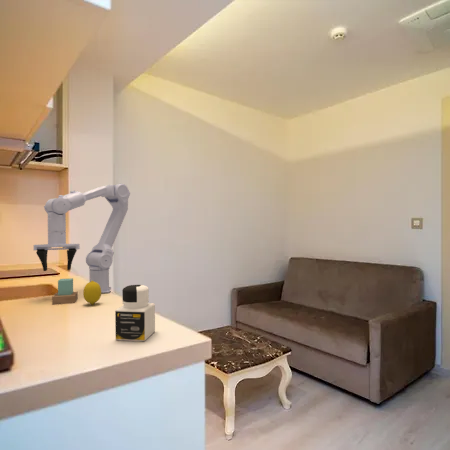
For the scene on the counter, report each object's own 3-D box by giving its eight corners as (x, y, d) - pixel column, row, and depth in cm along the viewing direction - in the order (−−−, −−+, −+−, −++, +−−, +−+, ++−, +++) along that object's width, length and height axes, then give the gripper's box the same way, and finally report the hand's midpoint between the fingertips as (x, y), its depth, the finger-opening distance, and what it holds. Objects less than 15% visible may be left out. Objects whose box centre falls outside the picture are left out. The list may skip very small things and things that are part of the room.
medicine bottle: (115, 340, 76) (114, 288, 76) (128, 330, 83) (127, 282, 83) (144, 341, 75) (144, 289, 75) (155, 331, 82) (155, 283, 82)
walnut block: (56, 301, 117) (56, 292, 117) (77, 299, 119) (77, 291, 119) (52, 306, 110) (52, 297, 110) (75, 304, 112) (75, 295, 112)
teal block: (60, 293, 116) (60, 278, 116) (73, 292, 117) (73, 278, 117) (58, 295, 113) (57, 280, 113) (70, 294, 114) (70, 280, 114)
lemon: (97, 306, 107) (97, 282, 107) (80, 306, 107) (80, 282, 107) (103, 302, 113) (103, 279, 113) (87, 302, 113) (87, 279, 113)
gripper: (30, 232, 112) (31, 272, 112) (77, 231, 116) (77, 270, 116) (36, 232, 119) (37, 269, 119) (80, 231, 122) (80, 268, 123)
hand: (57, 270), depth 118 cm, fingers open, 7 cm apart
